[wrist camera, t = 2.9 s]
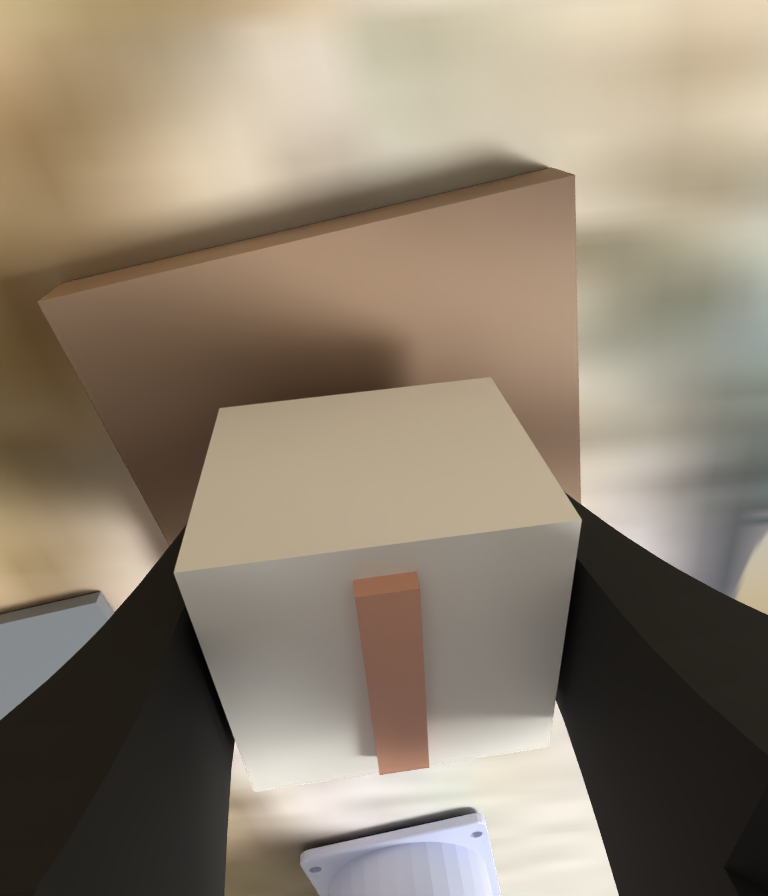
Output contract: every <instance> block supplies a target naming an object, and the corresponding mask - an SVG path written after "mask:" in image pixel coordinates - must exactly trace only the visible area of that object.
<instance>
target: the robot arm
mask: <svg viewBox="0 0 768 896" xmlns="http://www.w3.org/2000/svg"><path fill="white" fill-rule="evenodd" d="M565 494H566V496H567V497H568V499H569V500H570V502H571V503H572V505H573V507H574V508H575V510H576V511H577V513H578V514H579V516H580V518H581V519H582V522H581V529H580V536H579V543H578V549H577V556H576V563H575V570H574V577H573V584H572V591H571V597H570V604H569V611H568V618H567V625H566V632H565V639H564V645H563V652H562V659H561V666H560V673H559V680H558V687H557V694H556V702H557V704H558V707H559V709H560V712H561V714H562V717H563V719H564V722H565V725H566V728H567V731H568V734H569V737H570V740H571V743H572V746H573V749H574V752H575V755H576V758H577V761H578V764H579V767H580V770H581V773H582V776H583V779H584V782H585V785H586V789H587V792H588V795H589V798H590V801H591V804H592V808H593V811H594V814H595V817H596V820H597V823H598V827H599V830H600V833H601V836H602V840H603V843H604V846H605V850H606V853H607V856H608V860H609V863H610V867H611V870H612V873H613V877H614V880H615V883H616V887H617V890H618V893H619V896H768V615H767V614H764V613H762V612H760V611H758V610H756V609H754V608H752V607H749V606H747V605H745V604H743V603H741V602H739V601H737V600H735V599H733V598H731V597H729V596H727V595H725V594H723V593H721V592H719V591H717V590H715V589H713V588H711V587H709V586H708V585H706V584H704V583H702V582H700V581H698V580H697V579H695V578H693V577H691V576H689V575H688V574H686V573H684V572H682V571H680V570H678V569H677V568H675V567H673V566H672V565H670V564H668V563H667V562H665V561H663V560H662V559H660V558H658V557H657V556H655V555H654V554H652V553H650V552H649V551H647V550H646V549H644V548H643V547H641V546H640V545H638V544H637V543H635V542H633V541H632V540H630V539H629V538H627V537H626V536H624V535H623V534H621V533H620V532H619V531H617V530H616V529H614V528H613V527H611V526H610V525H608V524H607V523H606V522H604V521H603V520H601V519H600V518H599V517H597V516H596V515H595V514H593V513H592V512H590V511H589V510H588V509H586V508H585V507H584V506H582V505H581V504H580V503H578V502H577V501H576V500H575V499H573V498H572V497H571V496H569V495H568V494H567V493H565ZM187 523H188V522H187ZM186 527H187V524H186V525H185V526H184V528H183V529H182V530H181V532H180V533H179V534H178V536H177V537H176V538H175V540H174V541H173V542H172V544H171V545H170V546H169V547H168V549H167V550H166V551H165V553H164V554H163V555H162V557H161V558H160V559H159V560H158V562H157V563H156V564H155V565H154V566H153V568H152V569H151V570H150V571H149V573H148V574H147V575H146V576H145V578H144V579H143V580H142V581H141V583H140V584H139V585H138V586H137V587H136V589H135V590H134V591H133V592H132V593H131V595H130V596H129V597H128V598H127V599H126V600H125V601H124V602H123V604H122V605H121V606H120V607H119V608H118V609H117V610H116V611H115V613H114V614H113V615H112V616H111V617H110V618H109V619H108V620H107V622H106V623H105V624H104V625H103V626H102V627H101V628H100V629H99V630H98V631H97V632H96V633H95V635H94V636H93V637H92V638H91V639H90V640H89V641H88V642H87V643H86V644H85V645H84V646H83V647H82V648H81V649H80V650H79V651H78V652H76V653H75V654H74V655H73V656H72V657H71V658H70V659H69V660H68V661H67V662H66V663H65V664H64V665H63V666H62V667H61V668H60V669H59V670H58V671H57V672H56V673H54V674H53V675H52V676H51V677H50V678H49V679H48V680H47V681H46V682H45V683H43V684H42V685H41V686H40V687H39V688H37V689H36V690H35V691H34V692H33V693H32V694H30V695H29V696H28V697H27V698H26V699H25V700H23V701H22V702H21V703H20V704H19V705H17V706H16V707H15V708H14V709H13V710H12V711H10V712H9V713H8V714H7V715H6V716H5V717H3V718H2V719H1V720H0V896H224V886H225V866H226V847H227V828H228V812H229V797H230V782H231V767H232V759H233V751H234V743H235V739H234V736H233V733H232V731H231V728H230V725H229V722H228V720H227V717H226V714H225V712H224V709H223V706H222V703H221V701H220V698H219V695H218V692H217V690H216V687H215V684H214V682H213V679H212V676H211V673H210V671H209V668H208V665H207V662H206V660H205V657H204V654H203V652H202V649H201V646H200V643H199V641H198V638H197V635H196V633H195V630H194V627H193V624H192V622H191V619H190V616H189V613H188V611H187V608H186V605H185V603H184V600H183V597H182V594H181V592H180V589H179V586H178V583H177V581H176V578H175V575H174V570H175V566H176V562H177V559H178V555H179V552H180V548H181V544H182V541H183V537H184V534H185V530H186ZM300 865H301V867H302V869H303V870H304V872H305V874H306V875H307V877H308V878H309V880H310V881H311V883H312V885H313V886H314V888H315V889H316V891H317V892H318V894H319V896H502V894H501V890H500V885H499V881H498V876H497V871H496V867H495V862H494V858H493V853H492V848H491V844H490V839H489V834H488V830H487V825H486V821H485V817H484V816H483V815H481V814H478V813H474V814H468V815H464V816H459V817H454V818H450V819H445V820H441V821H436V822H432V823H427V824H422V825H418V826H413V827H409V828H404V829H400V830H395V831H390V832H386V833H381V834H377V835H372V836H368V837H363V838H358V839H354V840H349V841H345V842H340V843H336V844H331V845H327V846H322V847H317V848H313V849H309V850H306V851H304V852H303V853H302V854H301V855H300Z"/></svg>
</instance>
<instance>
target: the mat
mask: <svg viewBox="0 0 768 896" xmlns="http://www.w3.org/2000/svg"><path fill="white" fill-rule="evenodd" d="M114 613H115V612H114V611H113V609H112V608H111V606H110V605H109V603H108V602H107V600H106V599H105V597H104V596H103V594H102V593H101V592H97V593H93V594H88V595H84V596H79V597H75V598H71V599H66V600H62V601H57V602H53V603H49V604H44V605H40V606H35V607H31V608H27V609H22V610H18V611H13V612H9V613H5V614H0V720H1V719H2V718H3V717H5V716H6V715H7V714H8V713H9V712H10V711H12V710H13V709H14V708H15V707H16V706H17V705H19V704H20V703H21V702H22V701H23V700H25V699H26V698H27V697H28V696H29V695H30V694H32V693H33V692H34V691H35V690H36V689H37V688H39V687H40V686H41V685H42V684H43V683H45V682H46V681H47V680H48V679H49V678H50V677H51V676H52V675H53V674H54V673H56V672H57V671H58V670H59V669H60V668H61V667H62V666H63V665H64V664H65V663H66V662H67V661H68V660H69V659H70V658H71V657H72V656H73V655H74V654H75V653H76V652H78V651H79V650H80V649H81V648H82V647H83V646H84V645H85V644H86V643H87V642H88V641H89V640H90V639H91V638H92V637H93V636H94V635H95V633H96V632H97V631H98V630H99V629H100V628H101V627H102V626H103V625H104V624H105V623H106V622H107V620H108V619H109V618H110V617H111V616H112V615H113V614H114Z"/></svg>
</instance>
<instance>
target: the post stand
mask: <svg viewBox="0 0 768 896" xmlns="http://www.w3.org/2000/svg"><path fill="white" fill-rule="evenodd" d="M37 303H38V305H39V307H40V308H41V310H42V312H43V314H44V316H45V318H46V319H47V321H48V323H49V325H50V327H51V329H52V330H53V332H54V334H55V336H56V338H57V340H58V341H59V343H60V345H61V347H62V349H63V351H64V353H65V354H66V356H67V358H68V360H69V362H70V364H71V365H72V367H73V369H74V371H75V373H76V375H77V376H78V378H79V380H80V382H81V384H82V386H83V387H84V389H85V391H86V393H87V395H88V397H89V398H90V400H91V402H92V404H93V406H94V408H95V410H96V411H97V413H98V415H99V417H100V419H101V421H102V422H103V424H104V426H105V428H106V430H107V432H108V433H109V435H110V437H111V439H112V441H113V443H114V444H115V446H116V448H117V450H118V452H119V454H120V456H121V457H122V459H123V461H124V463H125V465H126V467H127V468H128V470H129V472H130V474H131V476H132V478H133V479H134V481H135V483H136V485H137V487H138V489H139V490H140V492H141V494H142V496H143V498H144V500H145V502H146V503H147V505H148V507H149V509H150V511H151V513H152V514H153V516H154V518H155V520H156V522H157V524H158V525H159V527H160V529H161V531H162V533H163V535H164V536H165V538H166V540H167V542H168V544H169V546H170V545H171V544H172V542H173V541H174V540H175V538H176V537H177V536H178V534H179V533H180V532H181V530H182V529H183V528H184V526H185V525H186V524H187V522H188V519H189V516H190V512H191V509H192V505H193V501H194V498H195V494H196V491H197V487H198V483H199V480H200V476H201V473H202V469H203V465H204V462H205V458H206V455H207V451H208V448H209V444H210V440H211V437H212V433H213V430H214V426H215V422H216V419H217V415H218V412H219V408H225V407H234V406H242V405H251V404H260V403H268V402H277V401H286V400H295V399H303V398H312V397H321V396H330V395H338V394H347V393H356V392H364V391H373V390H382V389H391V388H399V387H408V386H417V385H426V384H434V383H443V382H452V381H460V380H469V379H478V378H487V377H491V378H492V380H493V381H494V383H495V384H496V386H497V387H498V389H499V391H500V392H501V394H502V395H503V397H504V398H505V400H506V402H507V403H508V405H509V406H510V408H511V409H512V411H513V413H514V414H515V416H516V417H517V419H518V420H519V422H520V424H521V425H522V427H523V428H524V430H525V431H526V433H527V434H528V436H529V438H530V439H531V441H532V442H533V444H534V445H535V447H536V449H537V450H538V452H539V453H540V455H541V456H542V458H543V460H544V461H545V463H546V464H547V466H548V467H549V469H550V471H551V472H552V474H553V475H554V477H555V478H556V480H557V482H558V483H559V485H560V486H561V488H562V489H563V491H564V492H565V493H567V494H568V495H569V496H571V497H572V498H573V499H575V500H576V501H577V502H578V503H580V504H581V488H580V433H579V378H578V322H577V267H576V211H575V175H573V174H570V173H567V172H564V171H561V170H558V169H555V168H547V169H543V170H538V171H534V172H530V173H526V174H521V175H517V176H513V177H509V178H504V179H500V180H496V181H492V182H488V183H483V184H479V185H475V186H471V187H466V188H462V189H458V190H454V191H449V192H445V193H441V194H437V195H433V196H428V197H424V198H420V199H416V200H411V201H407V202H403V203H399V204H394V205H390V206H386V207H382V208H378V209H373V210H369V211H365V212H361V213H356V214H352V215H348V216H344V217H339V218H335V219H331V220H327V221H323V222H318V223H314V224H310V225H306V226H301V227H297V228H293V229H289V230H284V231H280V232H276V233H272V234H268V235H263V236H259V237H255V238H251V239H246V240H242V241H238V242H234V243H229V244H225V245H221V246H217V247H213V248H208V249H204V250H200V251H196V252H191V253H187V254H183V255H179V256H174V257H170V258H166V259H162V260H158V261H153V262H149V263H145V264H141V265H136V266H132V267H128V268H124V269H119V270H115V271H111V272H107V273H103V274H98V275H94V276H90V277H86V278H81V279H77V280H73V281H69V282H64V283H61V284H60V285H58V286H57V287H56V288H54V289H53V290H52V291H50V292H49V293H48V294H47V295H45V296H44V297H43V298H41V299H40V300H39V301H37Z"/></svg>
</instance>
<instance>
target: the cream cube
mask: <svg viewBox="0 0 768 896" xmlns="http://www.w3.org/2000/svg"><path fill="white" fill-rule="evenodd" d="M581 522H582V519H581V518H580V516H579V514H578V513H577V511H576V510H575V508H574V507H573V505H572V503H571V502H570V500H569V499H568V497H567V496H566V494H565V492H564V491H563V489H562V488H561V486H560V485H559V483H558V482H557V480H556V478H555V477H554V475H553V474H552V472H551V471H550V469H549V467H548V466H547V464H546V463H545V461H544V460H543V458H542V456H541V455H540V453H539V452H538V450H537V449H536V447H535V445H534V444H533V442H532V441H531V439H530V438H529V436H528V434H527V433H526V431H525V430H524V428H523V427H522V425H521V424H520V422H519V420H518V419H517V417H516V416H515V414H514V413H513V411H512V409H511V408H510V406H509V405H508V403H507V402H506V400H505V398H504V397H503V395H502V394H501V392H500V391H499V389H498V387H497V386H496V384H495V383H494V381H493V380H492V378H491V377H487V378H478V379H469V380H460V381H452V382H443V383H434V384H426V385H417V386H408V387H399V388H391V389H382V390H373V391H364V392H356V393H347V394H338V395H330V396H321V397H312V398H303V399H295V400H286V401H277V402H268V403H260V404H251V405H242V406H234V407H225V408H219V412H218V415H217V419H216V422H215V426H214V430H213V433H212V437H211V440H210V444H209V448H208V451H207V455H206V458H205V462H204V465H203V469H202V473H201V476H200V480H199V483H198V487H197V491H196V494H195V498H194V501H193V505H192V509H191V512H190V516H189V519H188V523H187V527H186V530H185V534H184V537H183V541H182V544H181V548H180V552H179V555H178V559H177V562H176V566H175V570H174V575H175V578H176V581H177V583H178V586H179V589H180V592H181V594H182V597H183V600H184V603H185V605H186V608H187V611H188V613H189V616H190V619H191V622H192V624H193V627H194V630H195V633H196V635H197V638H198V641H199V643H200V646H201V649H202V652H203V654H204V657H205V660H206V662H207V665H208V668H209V671H210V673H211V676H212V679H213V682H214V684H215V687H216V690H217V692H218V695H219V698H220V701H221V703H222V706H223V709H224V712H225V714H226V717H227V720H228V722H229V725H230V728H231V731H232V733H233V736H234V739H235V742H236V744H237V747H238V750H239V752H240V755H241V758H242V761H243V763H244V766H245V769H246V772H247V774H248V777H249V780H250V782H251V785H252V788H253V791H254V792H259V791H266V790H273V789H279V788H286V787H292V786H299V785H305V784H312V783H318V782H325V781H331V780H338V779H345V778H351V777H358V776H364V775H371V774H377V773H379V774H380V775H383V774H389V773H396V772H403V771H409V770H416V769H422V768H429V766H430V765H436V764H443V763H449V762H456V761H462V760H469V759H475V758H482V757H488V756H495V755H501V754H508V753H515V752H521V751H528V750H534V749H541V748H547V747H549V742H550V735H551V728H552V721H553V714H554V707H555V700H556V694H557V687H558V680H559V673H560V666H561V659H562V652H563V645H564V639H565V632H566V625H567V618H568V611H569V604H570V597H571V591H572V584H573V577H574V570H575V563H576V556H577V549H578V543H579V536H580V529H581Z"/></svg>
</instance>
